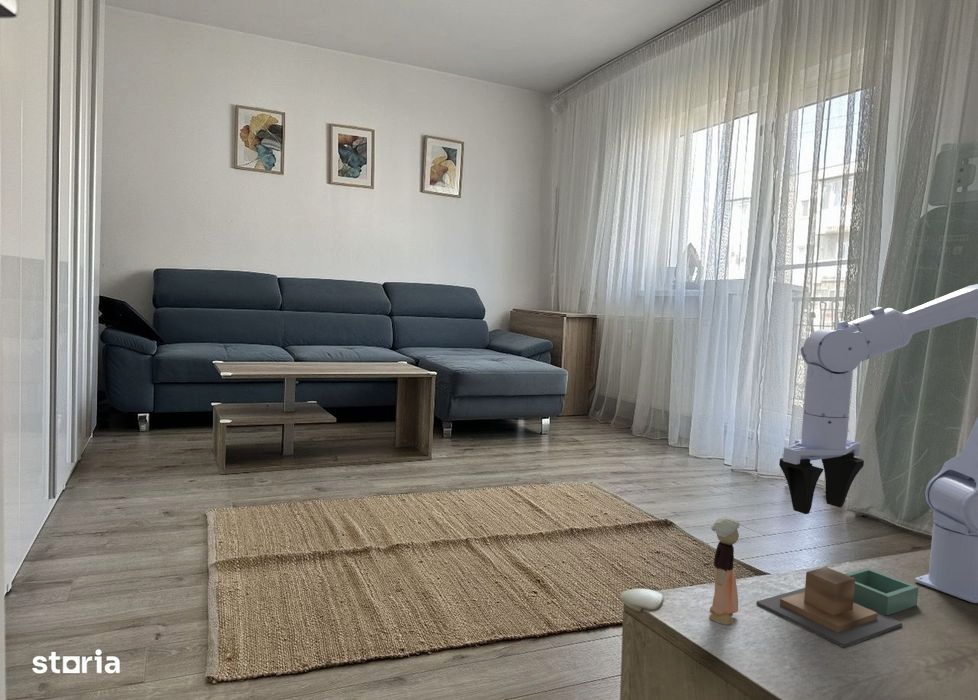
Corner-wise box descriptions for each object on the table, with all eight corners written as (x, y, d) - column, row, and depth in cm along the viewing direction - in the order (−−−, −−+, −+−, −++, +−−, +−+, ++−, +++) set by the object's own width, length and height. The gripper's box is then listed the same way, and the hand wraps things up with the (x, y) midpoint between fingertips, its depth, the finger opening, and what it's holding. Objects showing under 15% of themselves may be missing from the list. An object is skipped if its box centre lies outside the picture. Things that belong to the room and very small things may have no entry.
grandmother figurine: (742, 631, 81) (750, 527, 80) (709, 626, 82) (716, 524, 81) (733, 603, 88) (739, 508, 87) (702, 599, 89) (708, 505, 88)
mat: (814, 587, 94) (814, 585, 94) (902, 626, 84) (902, 622, 84) (756, 604, 88) (756, 601, 88) (843, 647, 78) (843, 644, 78)
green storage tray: (865, 584, 96) (866, 567, 96) (916, 605, 90) (918, 586, 90) (835, 593, 92) (836, 576, 92) (886, 615, 86) (888, 596, 86)
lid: (818, 593, 91) (821, 558, 91) (877, 619, 84) (880, 581, 84) (779, 604, 87) (782, 568, 87) (837, 632, 81) (841, 593, 80)
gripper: (830, 407, 102) (823, 495, 103) (767, 412, 95) (760, 506, 96) (877, 415, 96) (869, 508, 97) (813, 421, 89) (805, 521, 90)
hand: (818, 508), depth 96 cm, fingers open, 7 cm apart
